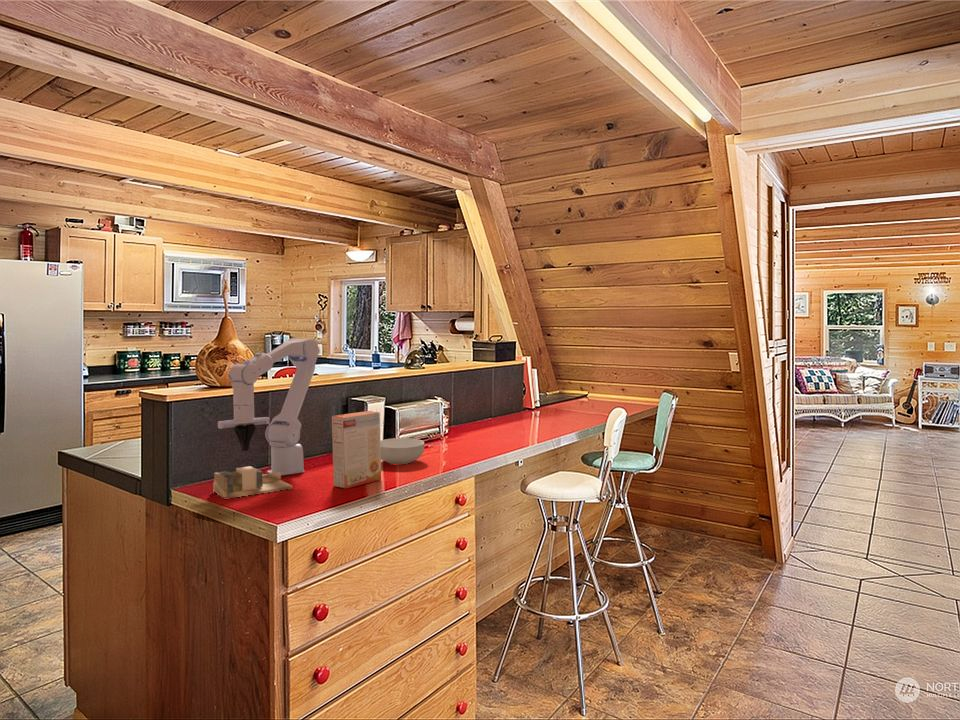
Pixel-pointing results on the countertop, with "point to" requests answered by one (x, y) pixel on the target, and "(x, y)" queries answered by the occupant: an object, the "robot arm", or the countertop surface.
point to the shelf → (266, 480)
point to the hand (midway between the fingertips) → (244, 450)
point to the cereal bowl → (401, 450)
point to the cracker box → (356, 449)
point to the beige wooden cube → (248, 477)
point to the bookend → (259, 478)
